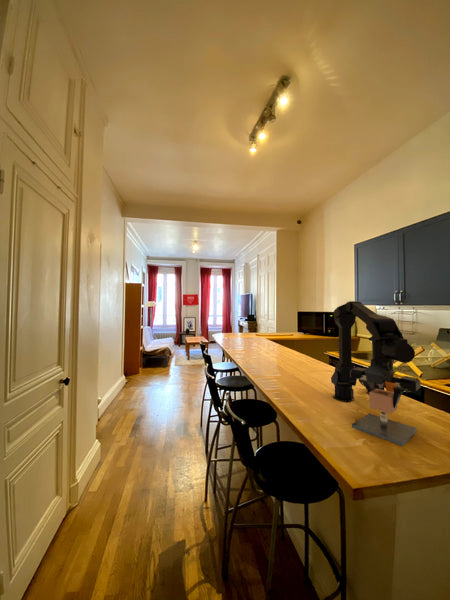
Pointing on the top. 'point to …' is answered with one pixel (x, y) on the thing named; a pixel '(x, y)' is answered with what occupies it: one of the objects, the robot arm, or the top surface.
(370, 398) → the socket block
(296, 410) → the top surface
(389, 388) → the carrot
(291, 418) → the top surface
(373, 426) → the pin plate
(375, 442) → the top surface
